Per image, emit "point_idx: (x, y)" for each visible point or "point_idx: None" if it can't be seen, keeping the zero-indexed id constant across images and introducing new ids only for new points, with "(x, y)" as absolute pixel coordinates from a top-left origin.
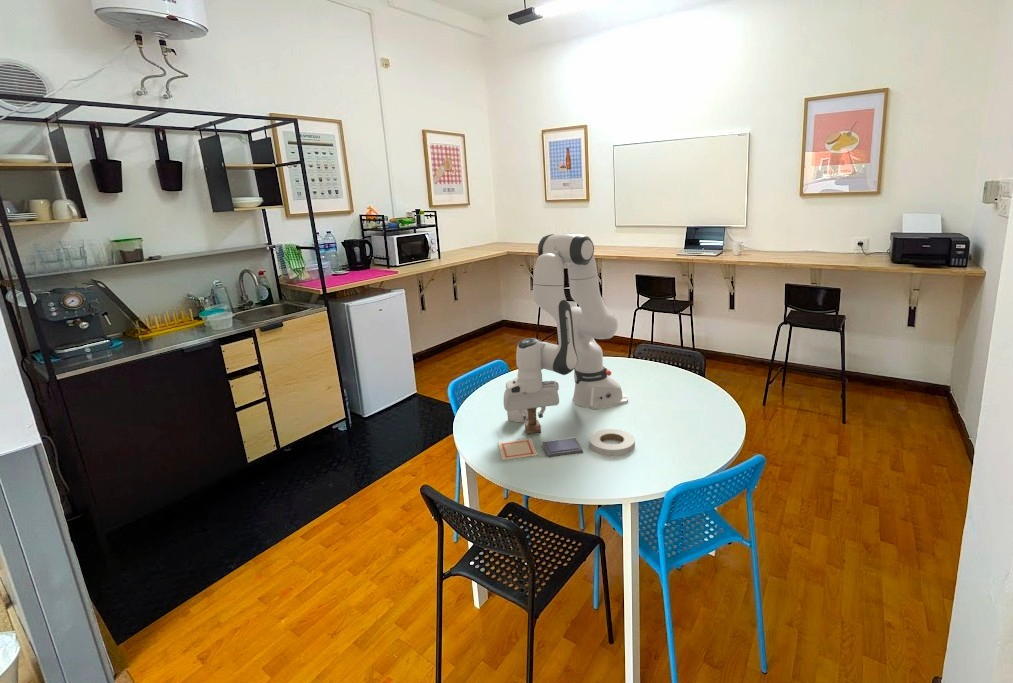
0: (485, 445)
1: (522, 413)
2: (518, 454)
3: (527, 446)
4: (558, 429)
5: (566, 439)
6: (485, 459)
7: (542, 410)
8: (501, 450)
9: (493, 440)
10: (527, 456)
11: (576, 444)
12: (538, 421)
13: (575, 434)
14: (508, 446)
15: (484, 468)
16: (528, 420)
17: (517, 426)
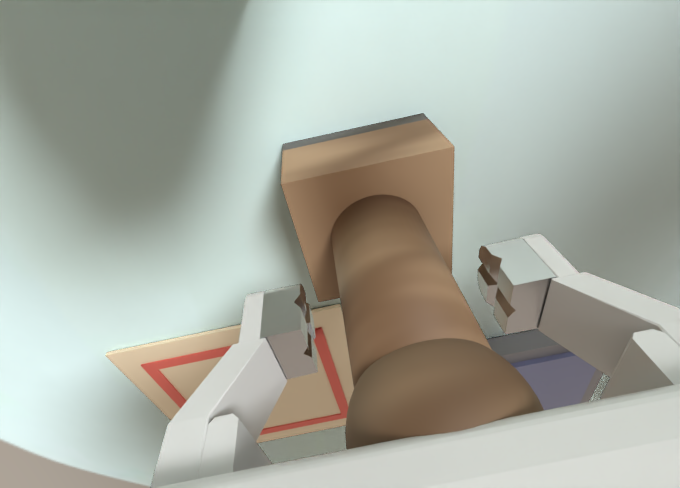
0: (24, 371)
1: (262, 390)
2: (275, 424)
3: (318, 376)
4: (588, 173)
5: (560, 359)
6: (112, 452)
7: (593, 357)
8: (169, 409)
9: (46, 322)
10: (321, 428)
11: (583, 390)
12: (451, 190)
13: (658, 250)
14: (199, 380)
15: (142, 484)
16: (337, 276)
17: (178, 76)
